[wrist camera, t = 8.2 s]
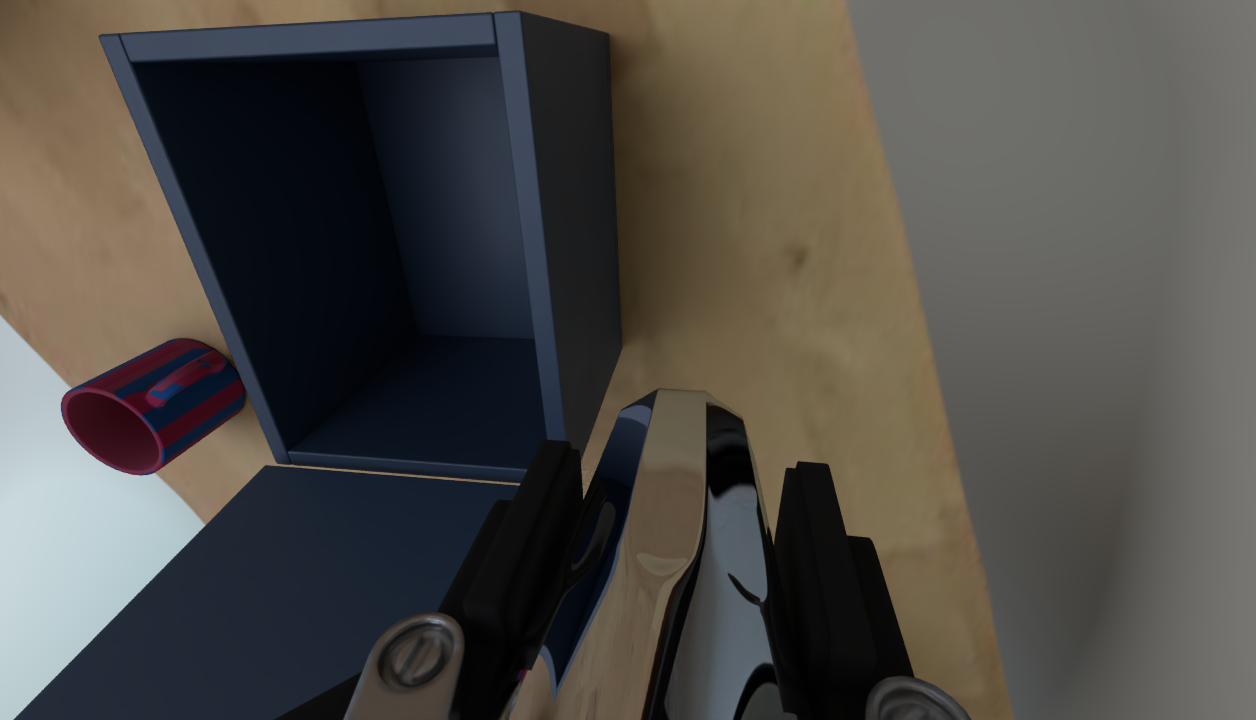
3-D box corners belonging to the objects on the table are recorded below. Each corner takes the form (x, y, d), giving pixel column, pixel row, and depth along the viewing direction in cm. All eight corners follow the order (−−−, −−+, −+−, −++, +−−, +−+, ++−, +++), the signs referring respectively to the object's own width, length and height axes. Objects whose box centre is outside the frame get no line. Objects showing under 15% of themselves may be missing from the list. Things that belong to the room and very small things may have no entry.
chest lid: (-442, 1176, 10) (-392, 1177, 10) (254, 1445, 7) (277, 1431, 8) (265, 464, 24) (272, 477, 25) (567, 488, 22) (569, 503, 22)
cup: (140, 358, 40) (40, 409, 34) (224, 304, 37) (128, 350, 31) (208, 428, 43) (125, 487, 37) (293, 384, 39) (216, 441, 33)
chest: (345, 45, 28) (95, 34, 17) (608, 32, 26) (520, 10, 15) (415, 339, 36) (276, 464, 25) (622, 348, 34) (571, 488, 23)
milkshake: (722, 563, 14) (731, 1352, 6) (548, 454, 13) (231, 1192, 5) (854, 456, 12) (1204, 1457, 3) (658, 318, 11) (458, 1199, 3)
